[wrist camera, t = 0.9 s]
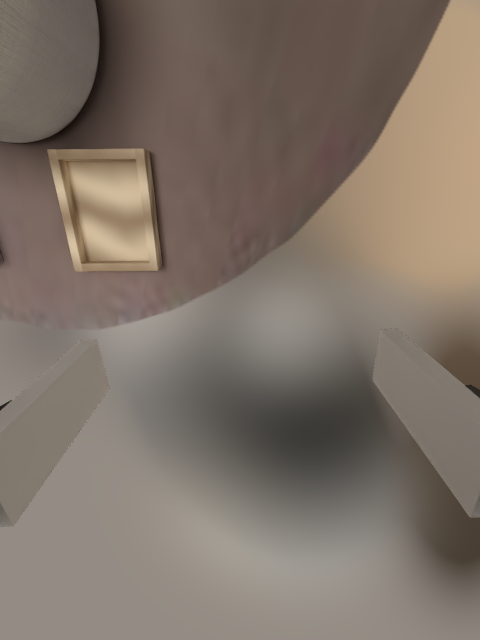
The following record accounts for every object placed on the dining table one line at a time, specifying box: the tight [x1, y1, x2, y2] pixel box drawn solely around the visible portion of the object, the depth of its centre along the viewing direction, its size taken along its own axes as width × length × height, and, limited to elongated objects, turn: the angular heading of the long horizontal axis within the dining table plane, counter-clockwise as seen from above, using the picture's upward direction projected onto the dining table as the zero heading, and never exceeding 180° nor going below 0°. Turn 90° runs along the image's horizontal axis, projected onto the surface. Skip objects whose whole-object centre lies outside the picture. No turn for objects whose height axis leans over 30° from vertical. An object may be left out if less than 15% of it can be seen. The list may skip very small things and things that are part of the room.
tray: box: [47, 149, 162, 271], centre depth 36 cm, size 14×11×2 cm
